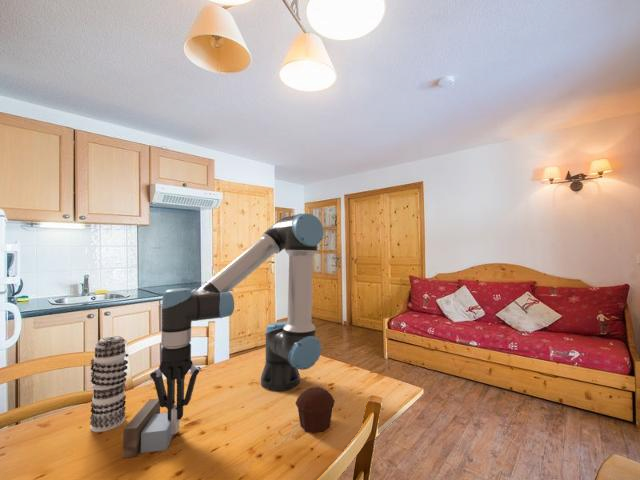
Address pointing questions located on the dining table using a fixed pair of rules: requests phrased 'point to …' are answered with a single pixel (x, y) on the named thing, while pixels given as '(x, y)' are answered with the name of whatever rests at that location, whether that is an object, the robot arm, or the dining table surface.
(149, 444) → the slate block
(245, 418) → the dining table surface
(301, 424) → the muffin
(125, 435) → the board
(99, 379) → the decorative candle
